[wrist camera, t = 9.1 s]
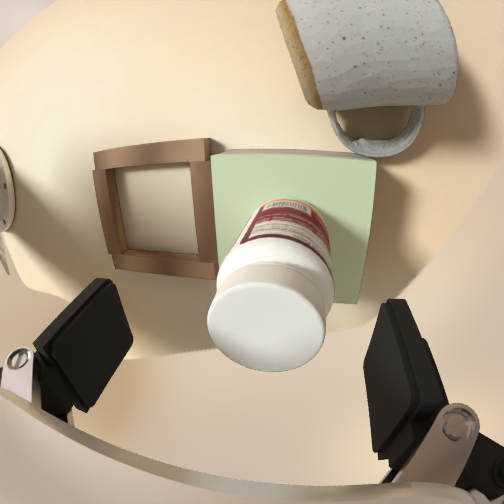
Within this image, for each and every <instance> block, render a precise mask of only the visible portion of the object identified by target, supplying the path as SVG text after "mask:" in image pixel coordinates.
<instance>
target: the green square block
mask: <svg viewBox="0 0 504 504" xmlns="http://www.w3.org/2000/svg"><path fill="white" fill-rule="evenodd" d="M376 166H377V162H376V161H375V160H372V159H370V158H369V157H367V156H362V155H359V154H357V153H347V152H334V151H318V150H296V149H230V150H228V151H225V152H222V153H220V154H214V155H212V156H211V171H212V186H213V201H214V214H215V227H216V239H217V251H218V262H219V269H220V267H221V264H222V262H223V260H224V259H225V257H226V256H227V254H228V253H229V251H230V249H231V248H232V246H233V245H234V243H235V241H236V240H237V238H238V237H239V235H240V234H241V232H242V230H243V228H244V226H245V225H246V223H247V222H248V220H249V219H250V217H251V216H252V214H253V213H254V212H255V210H256V209H257V208H258V207H260V206H261V205H262V204H264V203H266V202H267V201H270V200H272V199H276V198H281V197H291V198H296V199H300V200H302V201H305V202H307V203H308V204H310V205H312V206H313V207H314V208H315V209H316V210H317V211H318V212H319V213H320V215H321V216H322V217H323V219H324V221H325V223H326V226H327V230H328V236H329V243H330V252H331V262H332V271H333V280H334V288H335V292H334V298H333V303H345V304H357V302H358V297H359V292H360V287H361V282H362V277H363V271H364V265H365V260H366V253H367V247H368V240H369V233H370V226H371V218H372V210H373V201H374V190H375V179H376Z"/></svg>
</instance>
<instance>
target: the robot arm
mask: <svg viewBox="0 0 504 504" xmlns="http://www.w3.org/2000/svg"><path fill="white" fill-rule="evenodd" d="M14 212H15V196H14V187H13V181H12V176H11V172H10V169H9V166H8V163H7V160H6V158H5V156H4V154H3V152H2V151H1V149H0V232H3V231H5V230H7V229H8V228H9V227H10V226H11V224H12V222H13V218H14ZM132 344H133V335H132V333H131V330H130V327H129V324H128V322H127V319H126V316H125V313H124V310H123V307H122V304H121V301H120V298H119V294H118V291H117V288H116V285H115V284H113V282H112V281H111V280H110V279H104V278H96V279H95V280H94V281H93V282H92V283H91V284H89V285H88V286H87V287H86V288H85V289H84V290H83V291H82V292H81V293H80V294H79V295H78V296H77V297H76V298H75V299H74V300H73V301H72V302H71V303H70V304H69V305H68V306H67V307H66V308H65V309H64V310H63V311H62V312H61V313H60V314H59V315H58V316H57V318H56V319H55V320H54V321H53V322H52V323H51V324H50V325H49V326H48V327H47V328H46V329H45V330H44V331H43V333H42V334H41V335H40V336H39V337H38V338H37V339H36V340H35V341H34V342H33V345H34V347H35V348H36V350H37V351H36V352H35V353H34V352H33V350H32V348H31V347H29V346H26V345H23V346H19V347H16V348H15V349H13V350H11V352H10V353H8V355H7V356H6V358H5V361H4V366H3V367H1V368H0V504H504V447H503V446H501V445H499V444H498V443H496V442H495V441H493V440H491V439H489V438H488V437H486V436H484V435H483V434H481V433H480V432H479V429H480V424H479V419H478V417H477V414H476V413H475V412H474V410H473V409H471V408H470V407H469V406H467V405H465V404H461V403H452V404H449V402H448V399H447V396H446V393H445V389H444V386H443V384H442V381H441V378H440V375H439V372H438V369H437V367H436V364H435V361H434V359H433V356H432V353H431V351H430V348H429V346H428V343H427V341H426V340H425V339H424V338H422V337H421V334H420V332H419V330H418V327H417V325H416V322H415V320H414V318H413V315H412V313H411V311H410V308H409V306H408V304H407V302H406V300H405V299H388V300H387V302H386V303H382V304H381V307H380V310H379V314H378V318H377V321H376V325H375V328H374V332H373V335H372V338H371V341H370V345H369V348H368V350H367V353H366V356H365V359H364V366H363V369H364V377H365V384H366V391H367V399H368V407H369V417H370V426H371V438H372V449H373V452H374V453H376V452H378V460H384V459H388V460H389V467H390V468H391V469H390V470H389V471H388V472H387V474H386V475H385V476H384V478H383V479H382V480H381V481H380V482H379V484H367V485H366V484H365V485H348V486H304V485H284V484H271V483H261V482H252V481H245V480H238V479H232V478H226V477H221V476H216V475H211V474H206V473H201V472H197V471H193V470H188V469H184V468H181V467H177V466H173V465H170V464H166V463H163V462H159V461H157V460H153V459H150V458H147V457H144V456H141V455H138V454H136V453H133V452H130V451H128V450H125V449H122V448H120V447H117V446H115V445H112V444H110V443H107V442H105V441H103V440H101V439H98V438H96V437H94V436H92V435H89V434H87V433H85V432H83V431H81V430H79V429H77V428H75V426H74V421H73V414H72V407H73V405H74V406H75V407H76V408H77V409H79V410H81V411H83V412H85V413H87V412H88V410H89V408H90V407H93V406H94V405H95V403H96V401H97V400H98V398H99V396H100V394H101V393H102V392H103V390H104V388H105V387H106V385H107V384H108V382H109V380H110V379H111V377H112V376H113V374H114V372H115V371H116V369H117V368H118V366H119V365H120V363H121V361H122V360H123V358H124V357H125V355H126V354H127V352H128V351H129V349H130V348H131V346H132Z"/></svg>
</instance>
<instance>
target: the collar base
mask: <svg viewBox="0 0 504 504" xmlns="http://www.w3.org/2000/svg"><path fill="white" fill-rule="evenodd" d="M93 155H94V163H95V170H93V178H94V185H95V191H96V197H97V202H98V208H99V213H100V218H101V223H102V227H103V232H104V236H105V241H106V245H107V249H108V253H109V254H112V258H113V262H114V265H115V269H122V270H130V271H138V272H146V273H155V274H163V275H172V276H181V277H190V278H200V279H209V280H216V278H217V276H218V272H219V262H218V251H217V239H216V227H215V214H214V201H213V186H212V171H211V150H210V138H201V139H188V140H177V141H166V142H157V143H149V144H141V145H134V146H127V147H120V148H114V149H108V150H102V151H99V152H95V153H93ZM175 162H190V171H191V184H192V195H193V205H194V216H195V225H196V234H197V243H198V252H199V255H195V254H182V253H169V252H156V251H143V250H131V249H128V247H127V242H126V238H125V233H124V228H123V222H122V217H121V211H120V206H119V200H118V193H117V187H116V180H115V172H114V168H118V167H127V166H137V165H148V164H160V163H175Z"/></svg>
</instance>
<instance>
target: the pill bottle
mask: <svg viewBox="0 0 504 504" xmlns="http://www.w3.org/2000/svg"><path fill="white" fill-rule="evenodd" d="M334 292H335V288H334V280H333V271H332V262H331V252H330V243H329V236H328V230H327V226H326V223H325V221H324V219H323V217H322V216H321V215H320V213H319V212H318V211H317V210H316V209H315V208H314V207H313V206H312V205H310V204H308V203H307V202H305V201H302V200H300V199H296V198H291V197H281V198H276V199H272V200H270V201H267V202H266V203H264V204H262V205H261V206H260V207H258V208H257V209H256V210H255V212H254V213H253V214H252V216H251V217H250V219H249V220H248V222H247V223H246V225H245V226H244V228H243V230H242V232H241V234H240V235H239V237H238V238H237V240H236V241H235V243H234V245H233V246H232V248H231V249H230V251H229V253H228V254H227V256H226V257H225V259H224V260H223V262H222V264H221V267H220V269H219V272H218V276H217V292H216V295H215V297H214V299H213V301H212V303H211V306H210V308H209V311H208V316H207V326H208V331H209V334H210V336H211V338H212V340H213V342H214V343H215V345H216V346H217V347H218V349H219V350H220V351H221V352H222V353H223V354H225V355H226V356H227V357H229V358H230V359H231V360H233V361H234V362H236V363H238V364H240V365H242V366H245V367H247V368H250V369H254V370H258V371H266V372H281V371H287V370H291V369H295V368H297V367H300V366H302V365H304V364H305V363H307V362H309V361H310V360H311V359H312V358H313V357H315V356H316V354H317V353H318V352H319V350H320V349H321V347H322V345H323V342H324V338H325V332H326V316H327V315H328V313H329V311H330V309H331V306H332V303H333V298H334Z"/></svg>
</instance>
